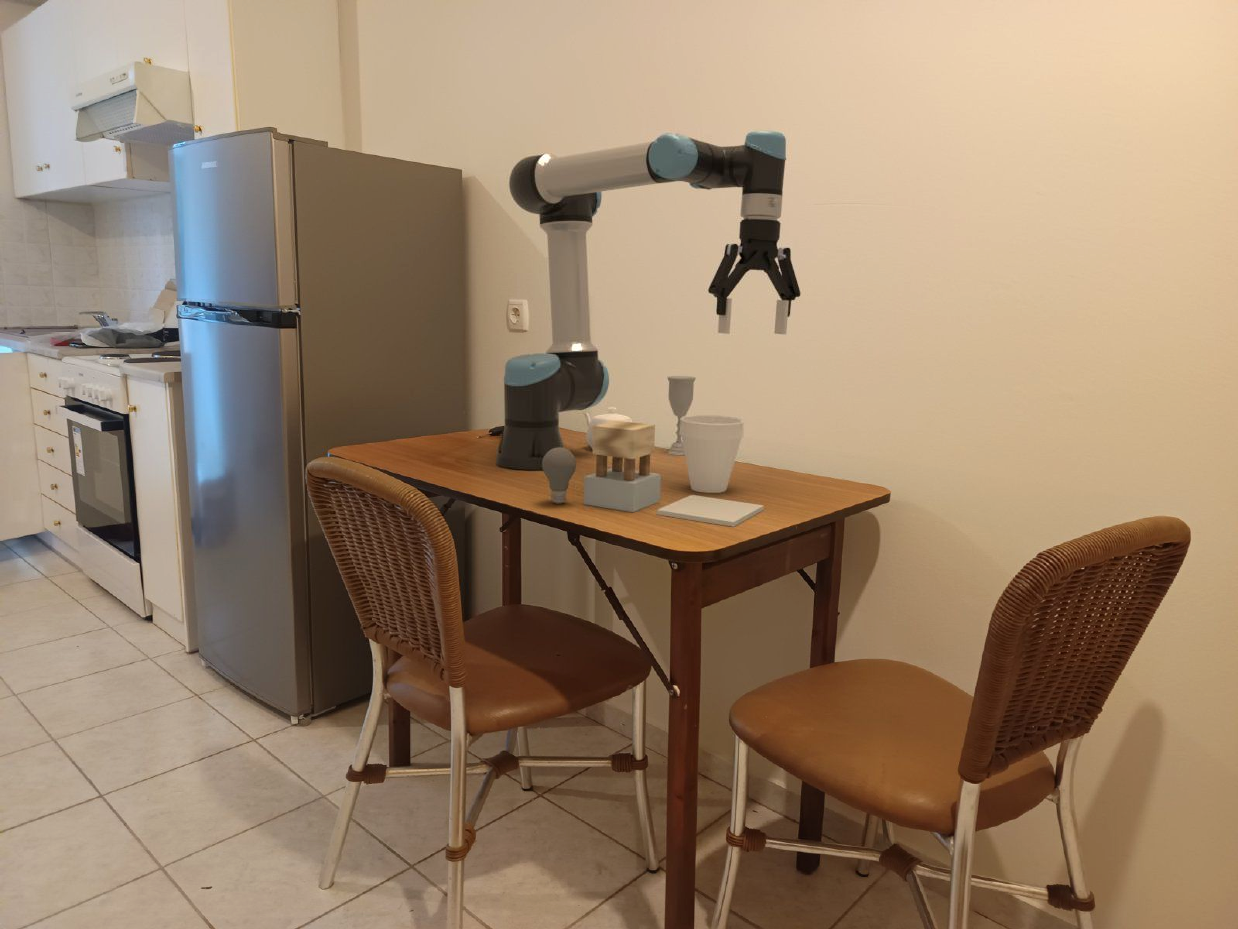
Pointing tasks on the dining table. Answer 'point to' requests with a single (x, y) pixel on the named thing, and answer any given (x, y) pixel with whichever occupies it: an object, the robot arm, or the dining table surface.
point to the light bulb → (559, 472)
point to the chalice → (680, 404)
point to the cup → (710, 450)
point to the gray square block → (622, 491)
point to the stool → (623, 447)
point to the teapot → (602, 422)
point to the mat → (711, 510)
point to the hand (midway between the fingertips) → (752, 333)
